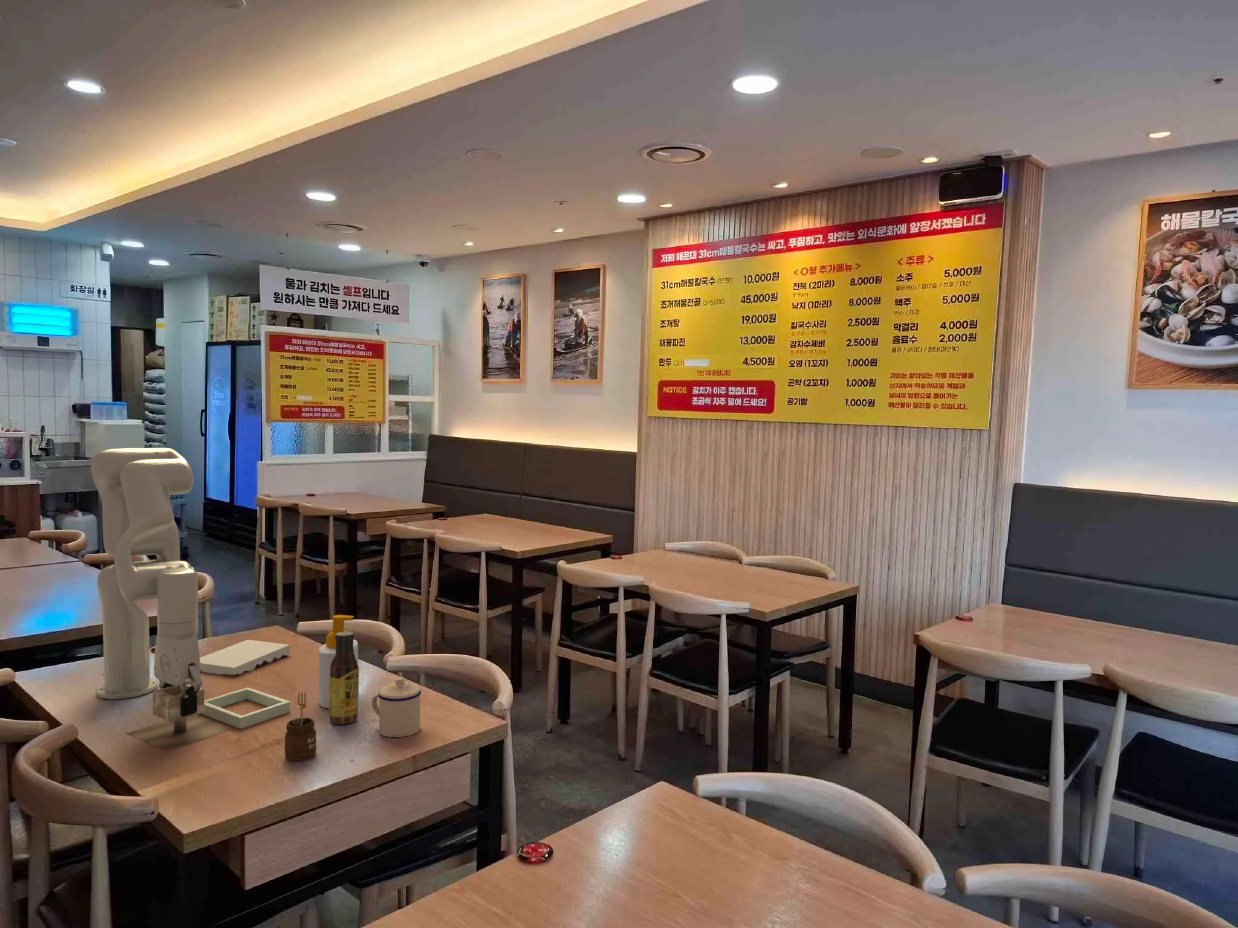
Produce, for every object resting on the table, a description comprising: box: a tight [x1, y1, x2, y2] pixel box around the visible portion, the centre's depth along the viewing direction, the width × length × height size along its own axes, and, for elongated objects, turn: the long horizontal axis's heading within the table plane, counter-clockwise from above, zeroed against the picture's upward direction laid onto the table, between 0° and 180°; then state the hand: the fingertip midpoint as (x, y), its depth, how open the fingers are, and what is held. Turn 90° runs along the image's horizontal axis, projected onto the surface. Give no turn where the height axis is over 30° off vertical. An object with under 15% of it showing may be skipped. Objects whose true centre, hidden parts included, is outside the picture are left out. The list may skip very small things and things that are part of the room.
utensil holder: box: [284, 692, 317, 762], centre depth 162 cm, size 6×6×12 cm
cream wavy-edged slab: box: [200, 639, 291, 676], centre depth 220 cm, size 15×3×20 cm
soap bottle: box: [318, 614, 359, 709], centre depth 193 cm, size 13×8×20 cm, turn 178°
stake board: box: [125, 714, 234, 753], centre depth 170 cm, size 16×14×2 cm
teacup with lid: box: [371, 677, 422, 738], centre depth 176 cm, size 12×9×12 cm
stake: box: [173, 718, 187, 733], centre depth 169 cm, size 2×2×6 cm
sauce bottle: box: [328, 630, 360, 725], centre depth 180 cm, size 7×6×20 cm
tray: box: [200, 687, 291, 730], centre depth 181 cm, size 16×12×4 cm
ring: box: [152, 684, 205, 723], centre depth 170 cm, size 7×7×5 cm
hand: (178, 709), depth 170 cm, fingers closed on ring, 7 cm apart
